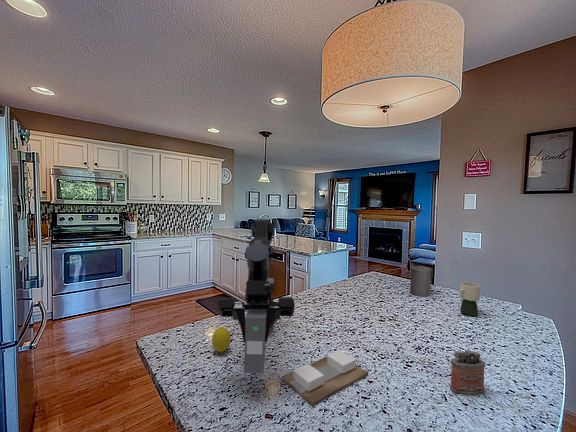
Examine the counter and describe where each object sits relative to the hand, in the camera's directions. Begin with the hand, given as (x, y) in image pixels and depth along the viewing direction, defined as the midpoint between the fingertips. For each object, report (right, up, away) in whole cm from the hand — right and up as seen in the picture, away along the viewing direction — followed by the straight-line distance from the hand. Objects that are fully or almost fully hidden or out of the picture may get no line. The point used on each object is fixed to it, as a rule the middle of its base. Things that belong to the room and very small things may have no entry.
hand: (255, 342), depth 65 cm
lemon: (-13, -13, +21) cm, 27 cm away
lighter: (+52, -14, +4) cm, 54 cm away
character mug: (+84, -13, +53) cm, 101 cm away
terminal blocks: (+18, -12, +9) cm, 23 cm away
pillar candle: (+76, -11, +80) cm, 111 cm away
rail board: (+18, -13, +9) cm, 24 cm away
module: (0, -7, +2) cm, 7 cm away
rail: (+18, -13, +9) cm, 24 cm away
